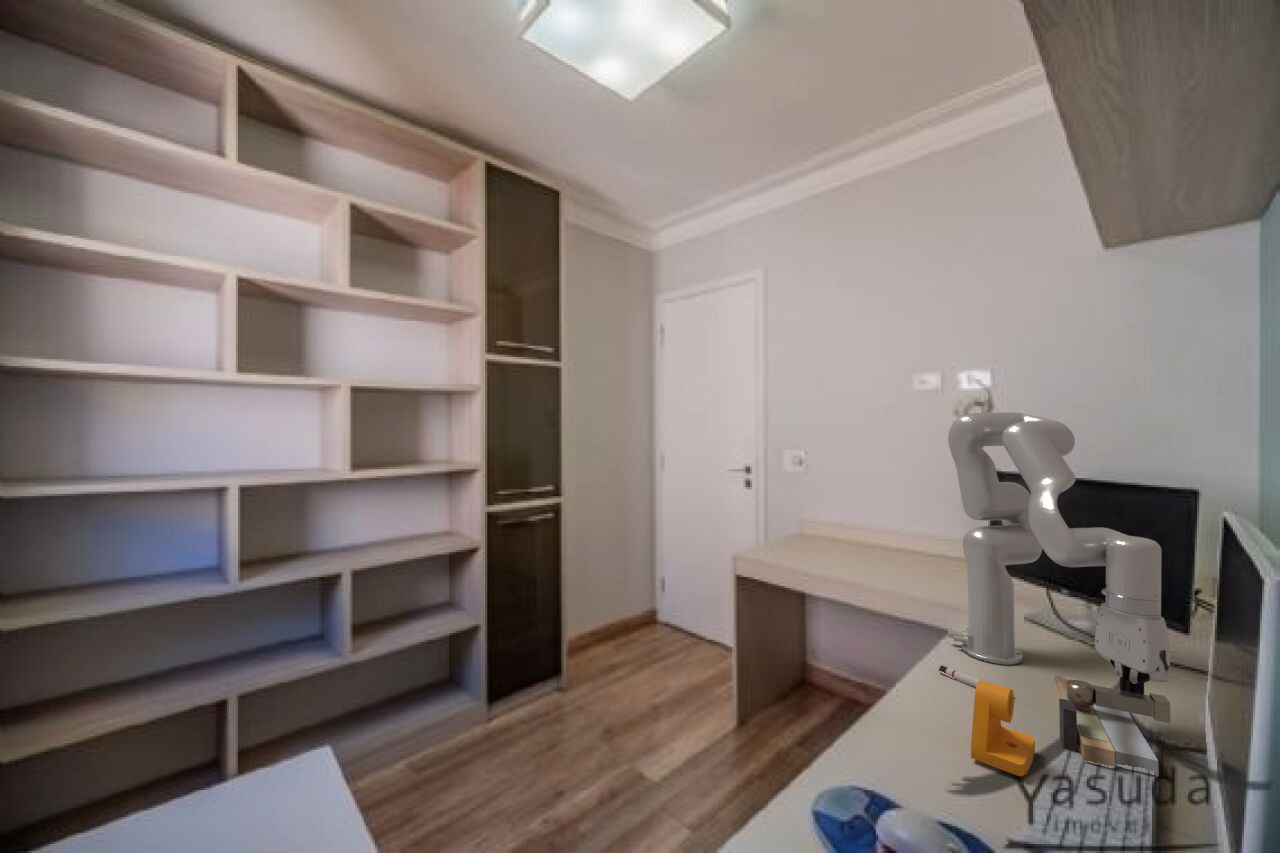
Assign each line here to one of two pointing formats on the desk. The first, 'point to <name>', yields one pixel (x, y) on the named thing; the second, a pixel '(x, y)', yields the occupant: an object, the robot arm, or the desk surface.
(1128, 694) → the door handle
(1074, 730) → the doorframe
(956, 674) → the marker
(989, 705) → the bracket
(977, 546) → the robot arm
